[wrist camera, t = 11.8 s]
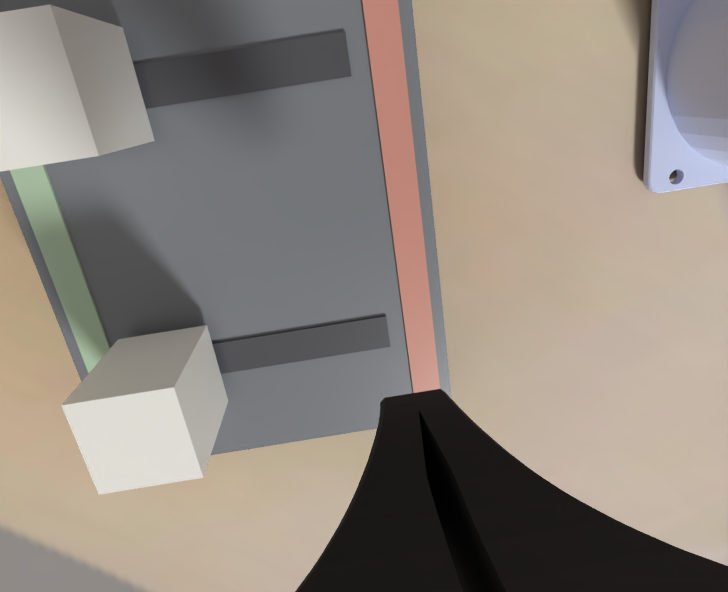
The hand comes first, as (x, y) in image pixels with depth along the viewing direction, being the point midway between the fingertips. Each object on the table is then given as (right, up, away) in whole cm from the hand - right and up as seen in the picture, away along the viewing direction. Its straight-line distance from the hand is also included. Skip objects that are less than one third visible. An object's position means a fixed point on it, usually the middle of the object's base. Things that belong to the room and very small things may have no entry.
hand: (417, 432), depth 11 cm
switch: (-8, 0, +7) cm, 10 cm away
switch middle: (-9, +9, +3) cm, 13 cm away
